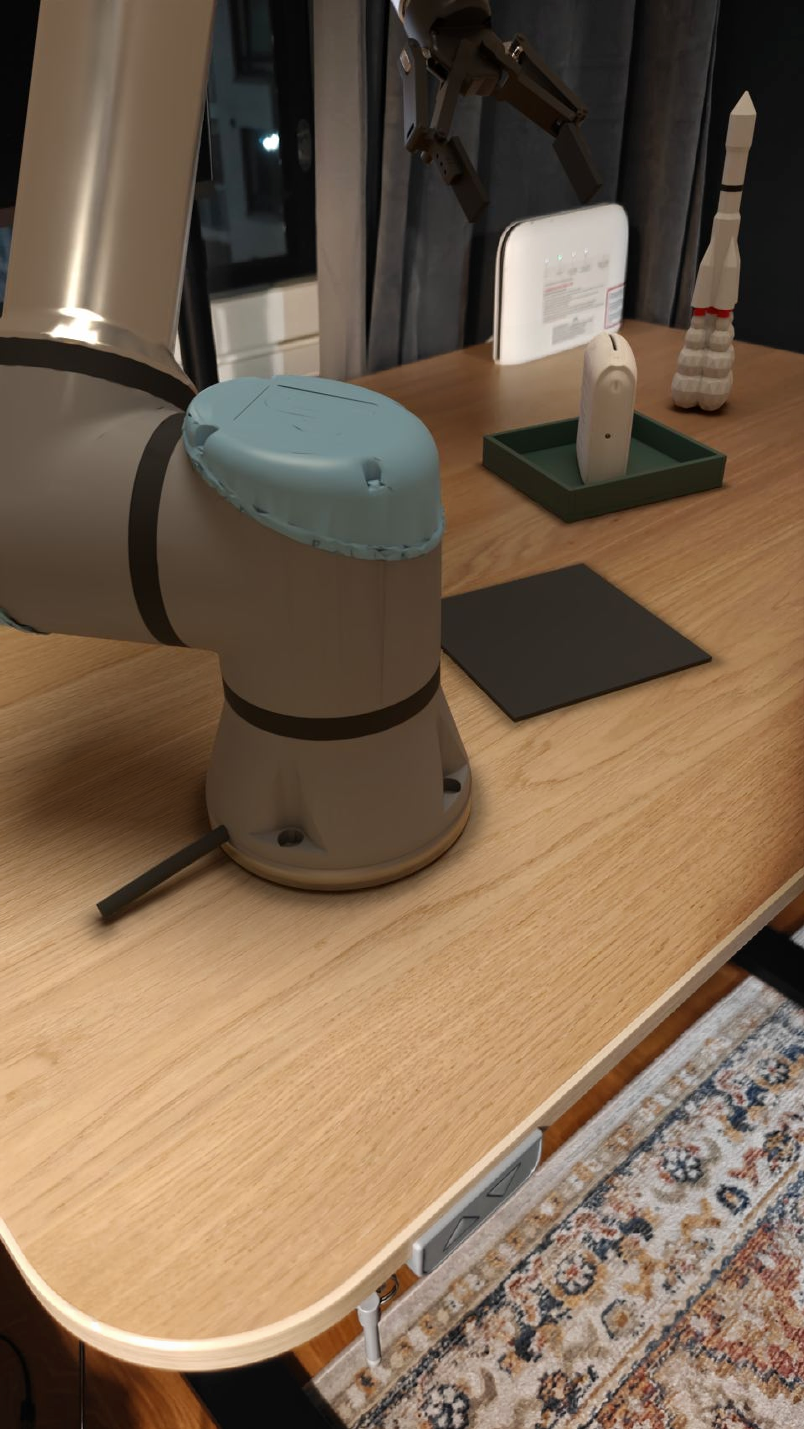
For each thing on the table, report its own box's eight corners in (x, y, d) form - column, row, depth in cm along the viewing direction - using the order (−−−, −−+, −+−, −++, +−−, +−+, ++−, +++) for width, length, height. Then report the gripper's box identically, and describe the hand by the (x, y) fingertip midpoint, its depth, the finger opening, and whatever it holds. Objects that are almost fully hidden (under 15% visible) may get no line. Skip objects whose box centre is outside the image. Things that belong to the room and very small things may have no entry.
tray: (567, 523, 89) (569, 491, 88) (481, 464, 101) (482, 435, 99) (722, 486, 95) (727, 455, 94) (625, 434, 106) (628, 406, 105)
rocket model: (652, 401, 115) (691, 90, 97) (706, 391, 117) (754, 86, 100) (691, 421, 109) (740, 96, 92) (747, 411, 112) (805, 91, 94)
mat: (514, 721, 65) (514, 718, 65) (405, 611, 77) (405, 608, 77) (711, 660, 71) (712, 656, 71) (582, 566, 83) (582, 562, 83)
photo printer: (628, 492, 93) (645, 354, 86) (581, 491, 94) (594, 354, 86) (616, 450, 102) (630, 322, 94) (572, 450, 102) (583, 322, 95)
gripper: (520, 29, 102) (612, 214, 101) (308, 40, 91) (409, 249, 90) (560, -38, 96) (659, 159, 95) (337, -35, 84) (447, 190, 83)
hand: (538, 203), depth 92 cm, fingers open, 13 cm apart
